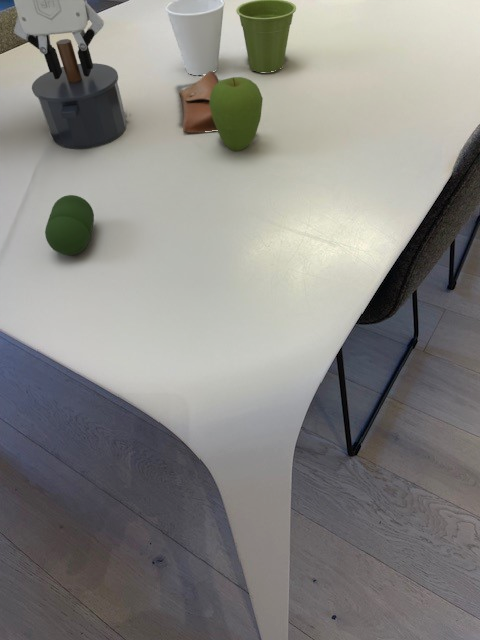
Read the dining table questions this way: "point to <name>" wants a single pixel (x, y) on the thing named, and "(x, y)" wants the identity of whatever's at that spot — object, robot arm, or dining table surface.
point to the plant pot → (266, 32)
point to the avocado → (69, 225)
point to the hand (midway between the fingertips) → (73, 73)
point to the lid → (73, 79)
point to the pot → (86, 120)
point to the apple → (236, 111)
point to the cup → (197, 32)
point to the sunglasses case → (198, 105)
